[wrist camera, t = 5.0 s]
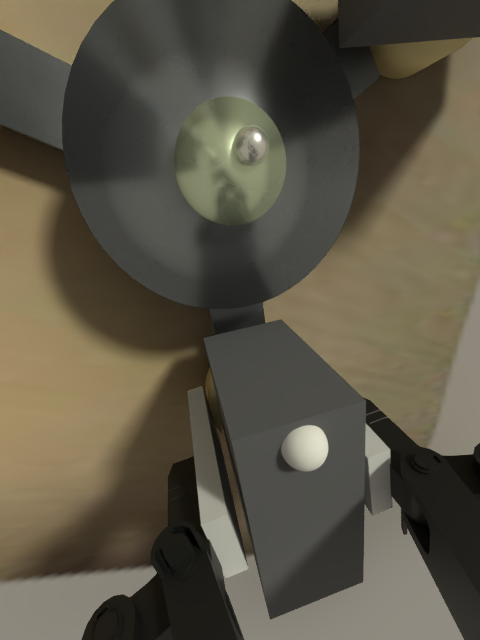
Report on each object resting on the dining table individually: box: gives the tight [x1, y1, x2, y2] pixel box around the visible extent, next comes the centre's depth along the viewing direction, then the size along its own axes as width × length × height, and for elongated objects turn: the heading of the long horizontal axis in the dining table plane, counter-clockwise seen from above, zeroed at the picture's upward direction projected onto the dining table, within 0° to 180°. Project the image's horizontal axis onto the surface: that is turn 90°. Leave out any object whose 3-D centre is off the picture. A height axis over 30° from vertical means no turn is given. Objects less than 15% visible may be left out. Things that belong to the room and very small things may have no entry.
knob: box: [203, 320, 366, 619], centre depth 12 cm, size 4×8×9 cm, turn 9°
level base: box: [0, 0, 381, 335], centre depth 10 cm, size 14×12×5 cm
